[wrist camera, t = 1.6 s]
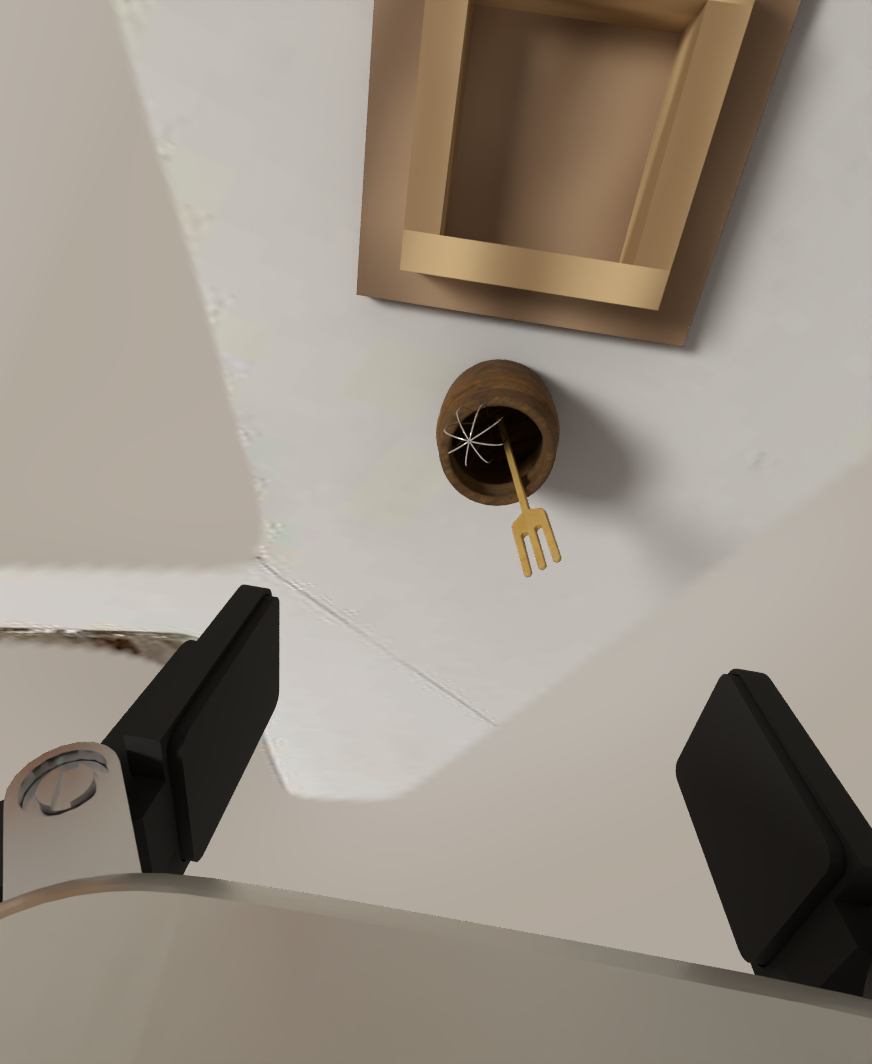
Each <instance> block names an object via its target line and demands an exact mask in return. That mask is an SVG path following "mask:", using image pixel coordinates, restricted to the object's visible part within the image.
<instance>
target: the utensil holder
mask: <svg viewBox="0 0 872 1064" xmlns="http://www.w3.org/2000/svg"><path fill="white" fill-rule="evenodd" d="M436 438H437V446H438V450H439V457H440V461H441V465H442V468H443V471H444V473H445V475H446V477H447V479H448V480H449V482H450V483H451V484H452V486H453V487H454V488H455V489H456V490H457V491H458V492H459V493H461V494H462V495H463V496H465V497H467V498H468V499H470V500H473V501H475V502H478V503H481V504H485V505H494V506H499V505H508V504H512V503H516V502H520V506H521V509H522V513H521V515H520V516H519V517H518V518H517V520H516V521H515V522H514V523H513V524H512V531H513V535H514V538H515V542H516V546H517V550H518V554H519V557H520V561H521V565H522V569H523V573H524V576H525V577H530V576H531V575H532V570H531V566H530V562H529V558H528V554H527V550H526V546H525V542H524V537H525V536H527V535H529V537H530V541H531V544H532V548H533V551H534V554H535V558H536V561H537V565H538V568H539V569H540V570H544V569H545V568H546V566H547V565H546V562H545V558H544V555H543V551H542V548H541V544H540V541H539V537H538V534H537V531H538V529H540V528H543V531H544V534H545V537H546V540H547V543H548V546H549V549H550V552H551V555H552V558H553V561H554V562H556V563H558V562H560V561H561V555H560V552H559V549H558V546H557V543H556V540H555V537H554V534H553V531H552V528H551V524H550V521H549V518H548V515H547V513H546V511H545V510H544V509H542V508H538V509H530V507H529V503H528V500H527V497H529V496H530V495H532V494H533V493H534V492H535V491H537V490H538V489H539V488H540V487H541V486H542V484H543V483H544V482H545V481H546V479H547V478H548V476H549V474H550V472H551V470H552V467H553V464H554V461H555V457H556V451H557V446H558V441H559V421H558V416H557V412H556V408H555V406H554V403H553V400H552V398H551V395H550V393H549V391H548V389H547V387H546V386H545V384H544V383H543V381H542V380H541V379H540V378H539V377H538V376H537V375H536V374H535V373H534V372H533V371H532V370H530V369H529V368H527V367H526V366H524V365H522V364H520V363H517V362H514V361H509V360H498V359H497V360H489V361H484V362H481V363H479V364H476V365H474V366H472V367H471V368H469V369H467V370H466V371H465V372H463V373H462V374H461V375H460V376H459V377H458V378H457V379H456V380H455V382H454V383H453V384H452V386H451V387H450V389H449V391H448V393H447V395H446V397H445V399H444V402H443V404H442V407H441V410H440V413H439V417H438V421H437V429H436Z"/></svg>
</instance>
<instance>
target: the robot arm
mask: <svg viewBox="0 0 872 1064" xmlns="http://www.w3.org/2000/svg"><path fill="white" fill-rule="evenodd" d="M278 696H279V599H278V597H273V596H272V593H271V590H270V589H267V588H261V587H256V586H250V585H241V586H240V587H239V588H238V590H237V591H236V592H235V593H234V595H233V596H232V597H231V598H230V600H229V601H228V602H227V603H226V605H225V606H224V607H223V609H222V610H221V611H220V612H219V614H218V615H217V616H216V617H215V619H214V620H213V621H212V622H211V624H210V625H209V626H208V628H207V629H206V630H205V631H204V633H203V634H202V635H201V636H200V638H199V639H198V640H197V641H194V640H188V641H186V642H185V643H183V644H182V645H181V646H180V647H179V649H178V650H177V651H176V652H175V654H174V655H173V656H172V657H171V658H170V660H169V661H168V662H167V663H166V664H165V666H164V667H163V668H162V669H161V671H160V672H159V673H158V674H157V675H156V677H155V678H154V679H153V681H152V682H151V683H150V684H149V685H148V686H147V688H146V689H145V690H144V691H143V693H142V694H141V695H140V696H139V697H138V699H137V700H136V701H135V702H134V704H133V705H132V706H131V707H130V708H129V710H128V711H127V712H126V713H125V714H124V716H123V717H122V718H121V719H120V721H119V722H118V723H117V724H116V726H115V727H114V728H113V729H112V730H111V732H110V733H109V734H108V735H107V736H106V738H105V739H104V740H103V741H102V742H101V744H99V743H95V742H77V743H72V744H68V745H64V746H60V747H58V748H55V749H53V750H50V751H48V752H46V753H44V754H42V755H41V756H39V757H37V758H36V759H34V760H33V761H31V762H30V763H28V764H27V765H26V766H25V767H24V768H23V769H22V770H21V771H20V772H19V773H18V774H17V775H16V776H15V777H14V779H13V780H12V782H11V783H10V785H9V786H8V788H7V791H6V794H5V799H4V800H2V801H0V1064H872V828H871V827H870V825H869V824H868V822H867V821H866V819H865V818H864V816H863V815H862V813H861V812H860V810H859V809H858V807H857V806H856V804H855V803H854V802H853V800H852V799H851V797H850V796H849V794H848V793H847V791H846V790H845V788H844V787H843V785H842V784H841V782H840V781H839V779H838V778H837V777H836V775H835V774H834V772H833V771H832V769H831V768H830V766H829V765H828V763H827V762H826V760H825V759H824V758H823V756H822V754H821V753H820V751H819V750H818V749H817V747H816V746H815V744H814V743H813V741H812V740H811V738H810V737H809V735H808V734H807V732H806V731H805V729H804V728H803V726H802V725H801V723H800V722H799V720H798V719H797V718H796V716H795V715H794V713H793V712H792V710H791V709H790V707H789V706H788V704H787V703H786V701H785V700H784V698H783V697H782V695H781V694H780V693H779V691H778V690H777V688H776V687H775V685H774V684H773V682H772V681H771V679H770V678H769V677H768V676H767V675H766V674H764V673H759V672H753V671H747V670H741V669H733V670H731V671H730V672H729V673H728V674H723V675H722V676H721V677H720V678H719V680H718V682H717V684H716V686H715V688H714V690H713V692H712V694H711V696H710V698H709V700H708V702H707V704H706V706H705V707H704V709H703V711H702V713H701V715H700V717H699V719H698V721H697V723H696V725H695V727H694V729H693V731H692V733H691V735H690V737H689V739H688V741H687V743H686V745H685V747H684V749H683V751H682V753H681V755H680V757H679V759H678V761H677V764H676V777H677V781H678V784H679V787H680V789H681V792H682V795H683V797H684V800H685V803H686V806H687V809H688V811H689V814H690V817H691V820H692V822H693V825H694V828H695V831H696V833H697V836H698V839H699V842H700V844H701V847H702V850H703V853H704V855H705V858H706V861H707V863H708V866H709V869H710V872H711V875H712V877H713V880H714V883H715V886H716V889H717V891H718V894H719V897H720V900H721V902H722V905H723V908H724V911H725V913H726V916H727V919H728V921H729V924H730V927H731V930H732V933H733V935H734V938H735V941H736V944H737V946H738V949H739V951H740V953H741V955H742V957H743V958H744V960H746V961H747V962H749V963H751V965H752V968H753V971H754V974H755V975H753V974H748V973H742V972H737V971H732V970H726V969H721V968H716V967H711V966H705V965H700V964H695V963H689V962H684V961H679V960H673V959H668V958H663V957H657V956H652V955H646V954H642V953H636V952H631V951H626V950H620V949H615V948H610V947H604V946H599V945H593V944H587V943H582V942H577V941H571V940H566V939H560V938H555V937H550V936H544V935H539V934H533V933H528V932H522V931H517V930H511V929H506V928H500V927H495V926H489V925H483V924H478V923H473V922H467V921H461V920H456V919H450V918H445V917H439V916H433V915H428V914H422V913H417V912H411V911H405V910H400V909H394V908H389V907H383V906H377V905H372V904H366V903H360V902H355V901H349V900H343V899H337V898H332V897H326V896H321V895H315V894H309V893H304V892H297V891H290V890H284V889H278V888H272V887H266V886H259V885H253V884H246V883H240V882H233V881H228V880H221V879H215V878H205V877H196V876H186V875H183V874H184V872H185V870H186V868H187V866H188V864H189V862H190V861H194V862H198V861H199V860H200V859H201V857H202V856H203V854H204V852H205V850H206V848H207V846H208V844H209V842H210V840H211V838H212V836H213V834H214V832H215V830H216V828H217V826H218V824H219V822H220V820H221V818H222V815H223V813H224V811H225V809H226V807H227V805H228V803H229V801H230V799H231V797H232V795H233V793H234V791H235V789H236V787H237V785H238V783H239V781H240V779H241V777H242V775H243V773H244V770H245V769H246V767H247V765H248V763H249V761H250V758H251V756H252V754H253V752H254V750H255V748H256V746H257V744H258V742H259V740H260V738H261V736H262V734H263V732H264V730H265V728H266V726H267V724H268V722H269V720H270V718H271V716H272V714H273V712H274V709H275V707H276V704H277V701H278Z"/></svg>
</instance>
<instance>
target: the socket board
mask: <svg viewBox="0 0 872 1064" xmlns="http://www.w3.org/2000/svg"><path fill="white" fill-rule="evenodd" d="M800 3H801V0H374V12H373V29H372V45H371V62H370V79H369V95H368V112H367V129H366V145H365V162H364V179H363V195H362V212H361V228H360V245H359V262H358V278H357V295H362V296H368V297H375V298H381V299H387V300H394V301H400V302H406V303H412V304H419V305H425V306H431V307H438V308H444V309H450V310H456V311H463V312H469V313H475V314H482V315H488V316H494V317H500V318H507V319H513V320H519V321H526V322H532V323H538V324H544V325H551V326H557V327H563V328H570V329H576V330H582V331H588V332H595V333H601V334H607V335H614V336H620V337H626V338H632V339H639V340H645V341H651V342H658V343H664V344H670V345H676V346H683V344H684V341H685V338H686V335H687V332H688V329H689V326H690V324H691V321H692V318H693V315H694V312H695V309H696V306H697V303H698V300H699V297H700V294H701V291H702V289H703V286H704V283H705V280H706V277H707V274H708V271H709V268H710V265H711V262H712V259H713V257H714V254H715V251H716V248H717V245H718V242H719V239H720V236H721V233H722V230H723V227H724V224H725V222H726V219H727V216H728V213H729V210H730V207H731V204H732V201H733V198H734V195H735V192H736V189H737V187H738V184H739V181H740V178H741V175H742V172H743V169H744V166H745V163H746V160H747V157H748V155H749V152H750V149H751V146H752V143H753V140H754V137H755V134H756V131H757V128H758V125H759V122H760V120H761V117H762V114H763V111H764V108H765V105H766V102H767V99H768V96H769V93H770V90H771V87H772V85H773V82H774V79H775V76H776V73H777V70H778V67H779V64H780V61H781V58H782V55H783V53H784V50H785V47H786V44H787V41H788V38H789V35H790V32H791V29H792V26H793V23H794V20H795V18H796V15H797V12H798V9H799V6H800Z"/></svg>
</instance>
